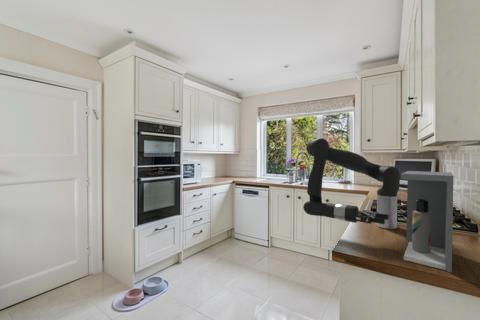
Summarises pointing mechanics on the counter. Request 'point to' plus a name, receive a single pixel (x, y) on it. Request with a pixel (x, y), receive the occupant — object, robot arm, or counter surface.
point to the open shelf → (433, 206)
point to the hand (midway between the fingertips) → (386, 219)
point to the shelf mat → (426, 257)
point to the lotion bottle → (421, 227)
